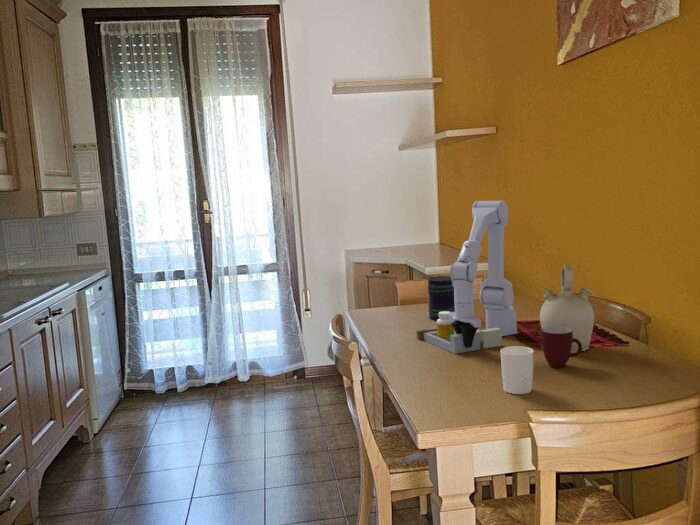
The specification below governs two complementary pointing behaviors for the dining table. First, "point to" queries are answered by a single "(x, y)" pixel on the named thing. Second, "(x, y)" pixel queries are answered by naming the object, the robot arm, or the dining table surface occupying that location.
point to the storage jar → (440, 296)
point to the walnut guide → (421, 332)
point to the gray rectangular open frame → (453, 342)
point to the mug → (558, 345)
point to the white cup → (517, 369)
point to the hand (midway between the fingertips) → (465, 346)
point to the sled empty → (490, 337)
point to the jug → (569, 310)
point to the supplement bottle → (444, 326)
